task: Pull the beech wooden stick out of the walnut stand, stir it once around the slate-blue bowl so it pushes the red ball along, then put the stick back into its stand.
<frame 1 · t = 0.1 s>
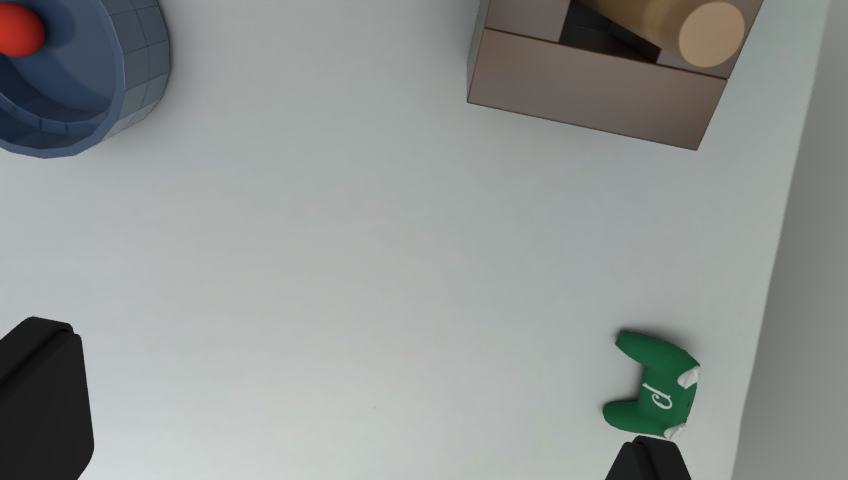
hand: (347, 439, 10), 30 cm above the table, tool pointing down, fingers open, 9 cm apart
ball: (14, 29, 35), point 2 cm above the table, touching mixing bowl
stick: (624, 1, 25), in the stick stand
mixing bowl: (76, 33, 37), on the table
gaming controller: (642, 371, 47), on the table
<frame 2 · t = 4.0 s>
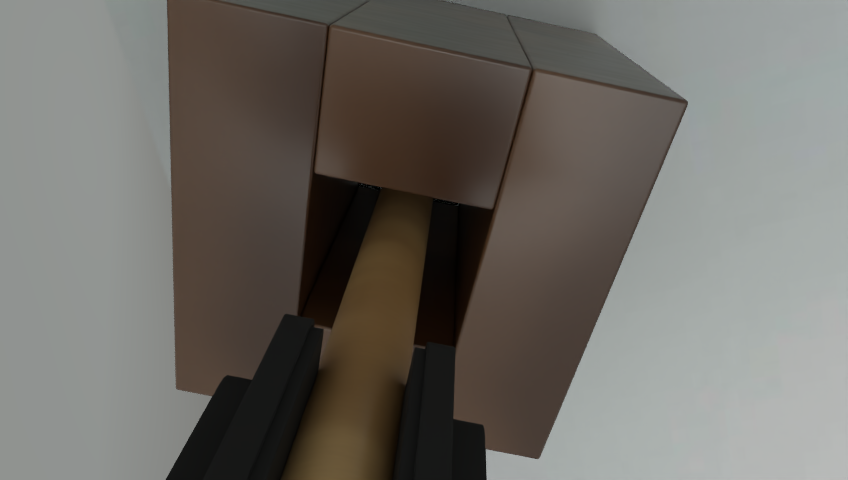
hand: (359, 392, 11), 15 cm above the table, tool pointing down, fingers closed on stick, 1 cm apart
stick: (388, 270, 15), in the stick stand, touching gripper
stick stand: (418, 147, 24), on the table
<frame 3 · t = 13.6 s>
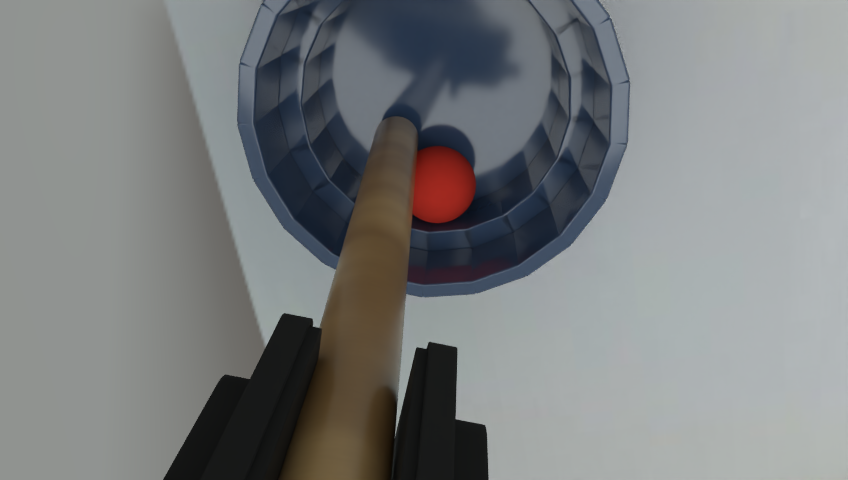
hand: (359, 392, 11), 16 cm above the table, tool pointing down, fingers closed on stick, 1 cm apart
ball: (437, 184, 24), point 2 cm above the table, tilted 37°, touching mixing bowl, stick
stick: (373, 265, 15), point 12 cm above the table, touching ball, gripper
mixing bowl: (438, 91, 24), on the table
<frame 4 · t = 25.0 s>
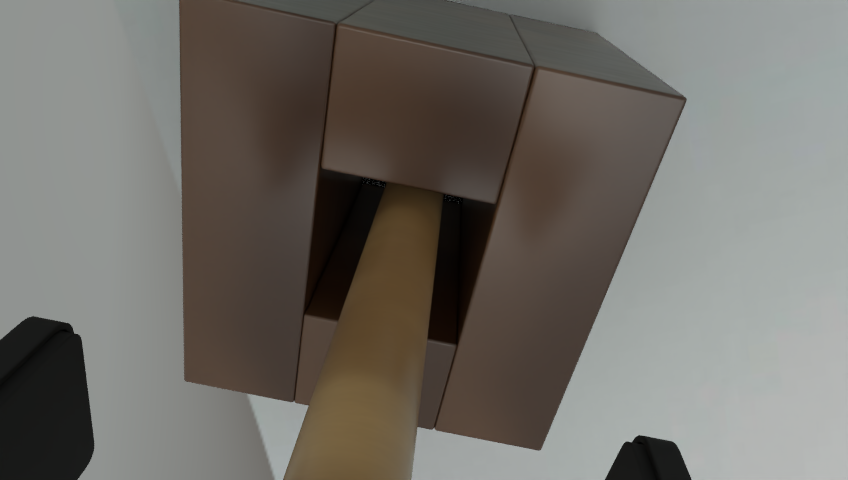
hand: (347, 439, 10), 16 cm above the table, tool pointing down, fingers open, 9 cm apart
stick: (404, 237, 15), in the stick stand
stick stand: (421, 145, 24), on the table
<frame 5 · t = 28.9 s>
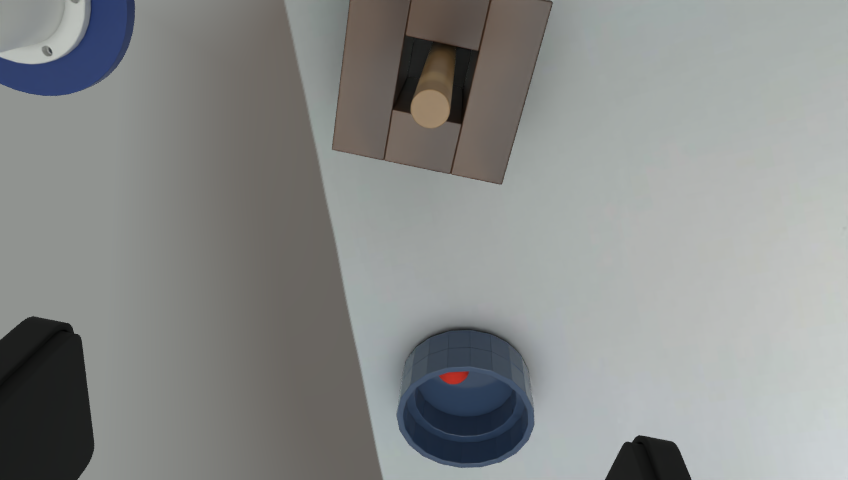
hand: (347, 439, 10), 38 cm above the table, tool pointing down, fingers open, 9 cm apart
ball: (453, 367, 55), point 2 cm above the table, tilted 146°, touching mixing bowl
stick: (440, 65, 34), in the stick stand
stick stand: (441, 52, 44), on the table
mixing bowl: (465, 376, 58), on the table
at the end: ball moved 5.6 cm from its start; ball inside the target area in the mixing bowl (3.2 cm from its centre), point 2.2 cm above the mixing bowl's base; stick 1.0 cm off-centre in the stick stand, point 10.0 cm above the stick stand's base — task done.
